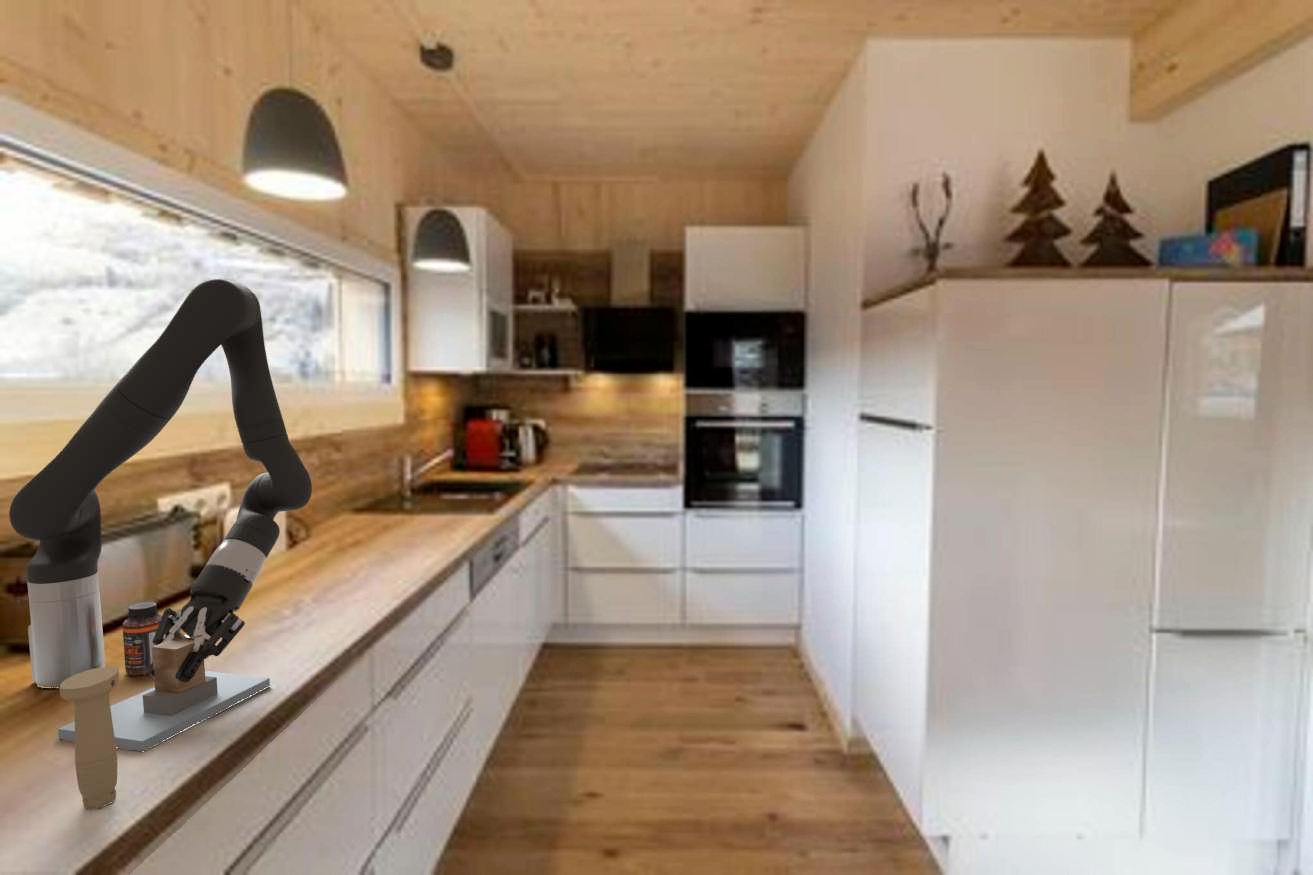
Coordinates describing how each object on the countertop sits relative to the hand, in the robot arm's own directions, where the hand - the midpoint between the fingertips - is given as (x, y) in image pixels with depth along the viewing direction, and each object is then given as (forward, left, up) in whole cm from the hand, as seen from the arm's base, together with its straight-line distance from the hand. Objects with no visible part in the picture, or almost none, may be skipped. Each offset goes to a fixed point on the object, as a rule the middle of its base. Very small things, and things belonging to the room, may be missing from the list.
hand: (167, 677), depth 112 cm
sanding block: (0, +2, -4) cm, 5 cm away
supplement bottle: (-21, +14, -6) cm, 26 cm away
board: (-2, +2, -6) cm, 7 cm away
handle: (+12, -20, -6) cm, 24 cm away
